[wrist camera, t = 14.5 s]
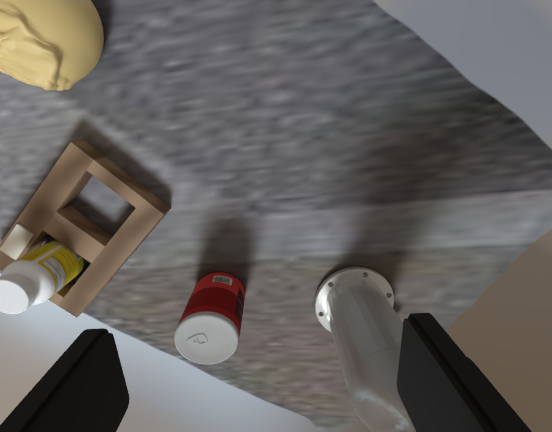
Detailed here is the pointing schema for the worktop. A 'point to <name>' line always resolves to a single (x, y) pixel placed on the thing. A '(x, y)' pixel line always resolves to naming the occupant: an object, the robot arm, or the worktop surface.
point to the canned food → (211, 319)
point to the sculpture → (49, 41)
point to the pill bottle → (38, 276)
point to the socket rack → (82, 222)
